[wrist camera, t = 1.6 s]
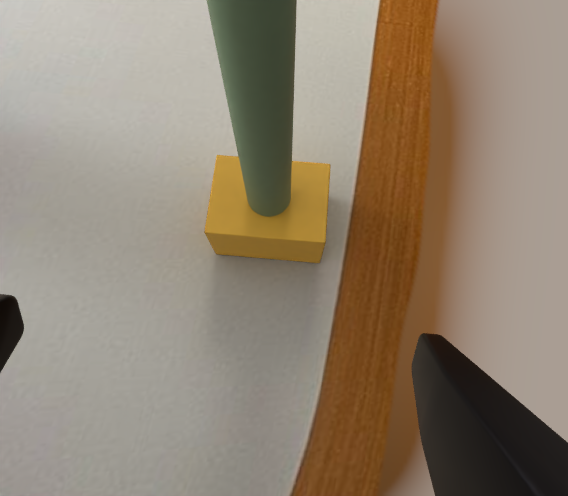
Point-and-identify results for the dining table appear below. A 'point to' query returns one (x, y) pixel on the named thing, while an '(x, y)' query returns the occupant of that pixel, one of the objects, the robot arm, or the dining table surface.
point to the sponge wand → (263, 141)
